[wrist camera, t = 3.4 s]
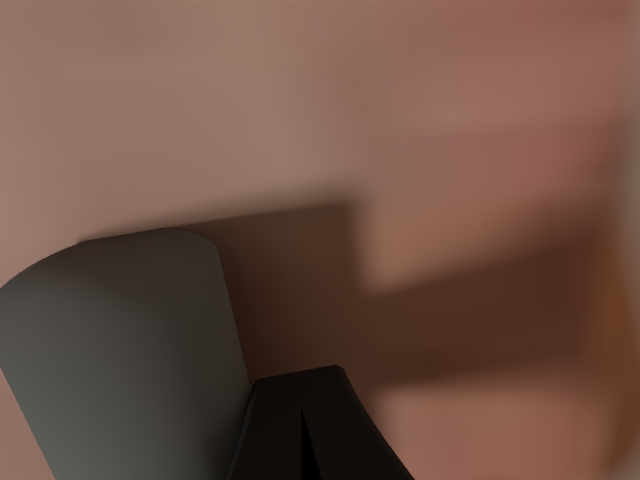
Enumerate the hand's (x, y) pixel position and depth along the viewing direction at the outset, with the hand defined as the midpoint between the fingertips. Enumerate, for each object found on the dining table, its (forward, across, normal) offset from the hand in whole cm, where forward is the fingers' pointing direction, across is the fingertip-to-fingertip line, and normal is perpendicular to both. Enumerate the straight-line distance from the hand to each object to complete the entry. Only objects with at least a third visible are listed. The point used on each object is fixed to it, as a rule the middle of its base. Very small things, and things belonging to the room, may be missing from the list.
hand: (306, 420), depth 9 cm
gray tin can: (-1, +4, 0) cm, 4 cm away
